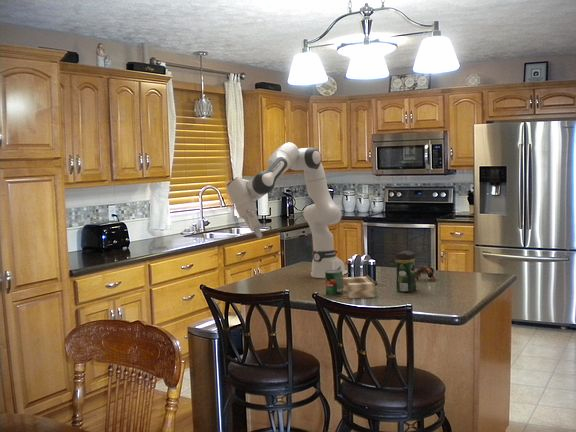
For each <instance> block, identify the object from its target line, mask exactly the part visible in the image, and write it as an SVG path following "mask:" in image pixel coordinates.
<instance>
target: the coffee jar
mask: <svg viewBox="0 0 576 432" xmlns="http://www.w3.org/2000/svg"><path fill="white" fill-rule="evenodd" d="M394 256H395V266H396V268H395V269H396V270H395V271H396V272H395V273H396V291H397V292H399V293H411V292H414V291H415V290H416V289H417V283H416V282H417V279H416V278H415V272H416V268H415V267H416V266H415V263H416V262H415V261H416V255H415V252H414V251H413V250H402V251H400V252H397V253H396V254H395V255H394Z"/></svg>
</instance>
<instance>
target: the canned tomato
mask: <svg viewBox="0 0 576 432" xmlns="http://www.w3.org/2000/svg"><path fill="white" fill-rule="evenodd" d="M343 278H344V277H343V276H342V270H328V271H325V278H324V280H325V296H327V297H330V298H331V297H333V298H334V297H342V296H343V295H344V288H343Z"/></svg>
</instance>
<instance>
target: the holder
mask: <svg viewBox="0 0 576 432" xmlns="http://www.w3.org/2000/svg"><path fill="white" fill-rule="evenodd" d="M342 278H343V285H344V288H343V292H346V293H347V295H348V296H347V297H348V298H349V299H361V298H363V299H364V298H376V282H375V281H374V279H373V278H371V277H370V276H369V275H368V274H366V275H365V276H349V277H342Z"/></svg>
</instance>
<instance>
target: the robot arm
mask: <svg viewBox="0 0 576 432" xmlns="http://www.w3.org/2000/svg"><path fill="white" fill-rule="evenodd" d="M267 167H268V168H267V169H266V170H263V171H260V172H258V173H257V174H256V175H255V176H254V177H252V178H251V179H244V178H241V177H239V176H237V177H235V178H233V179H232V180H230V181H229V182H228V183H227V184H226V191H227V194H228V196H229V197H230V201H231V202H232V203H233V204H234V206H235V207H234V208H235V210H236V212H237V214H238V217H239V218H240V219H242V220H244V222H245V223H246V225H247V227H248V228H249V229H250V232H252V233H253V232H254V235H255V236H256V237H257V240H260V239H262V237H263V233H262V232H261V231H262V230H261V228H260V226H261V223H260V221H259V219H258V217H257V211H258V208H257V206H256V203H255V201H258V200H259V199H261V198H262V197H264V196H265V195H267V194H269V193H271V192H272V191H273V190H274V188H275V185H276V181H277V179H278V178H279V176H280V175H283V174H284V173H286V172H287V171H291V172H292V171H303V175H304V180H305V181H304V182H305V187H306V192H307V195H308V197H309V198H310V199H311V200H312V201H313V203H312V204H309V205H307V206H305V207H304V209H303V212H302V213H303V214H302V215H303V219H304V220H305V221H306V222H307V224H308V227H309V228H310V232H311V236H312V237H311V238H312V249H313V250H312V253H311V254H312V261H311V272H310V276H311V278H317V279H325V271H328V270H342V275H343V276H345V275H344V274H346V273H347V271H348V270H346V266H345V263H344V262H343V260H341V259H340V258H339V257H338V256H337V254H339V253H340V250H339V249H335V248H334V245H335V244H334V243H335V242H334V234H333V233H332V232H331V231H330V229H329V226H331V225H336V224H338V223H339V222H340V221H341V219H342V217H343V215H342V214H343V213H342V210H341V208H340V207H339V206H338V205H337V204H336V203H335V202H334V199H333V198H332V196H331V194H330V190H329V188H328V184H327V177H326V173H325V169H324V167H323V163H322V154H321V152H320V151H319V150H318V149H317V148H315V147H302V148H298V146H297V145H296V144H295V143H293V142H286V143H283V144H281V145H280V146H279V147H278V148H277V149H275V151H273V152H272V154H271V155H270V156H269V158H268V160H267ZM346 275H347V274H346Z"/></svg>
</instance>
